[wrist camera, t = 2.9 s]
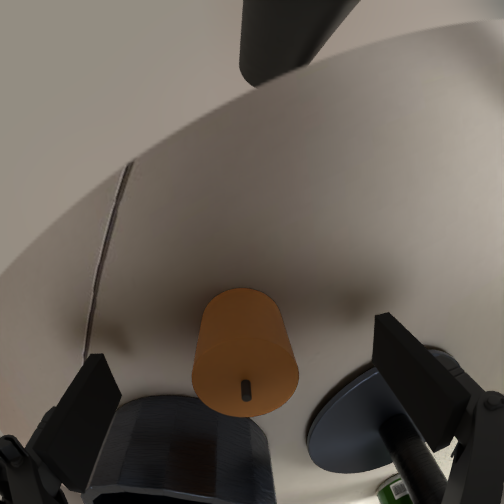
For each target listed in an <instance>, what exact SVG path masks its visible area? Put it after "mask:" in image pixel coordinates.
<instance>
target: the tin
mask: <svg viewBox="0 0 504 504" xmlns="http://www.w3.org/2000/svg"><path fill="white" fill-rule="evenodd" d="M81 498H82V500H83V502H84V504H277V500H276V493H275V486H274V479H273V472H272V465H271V458H270V452H269V446H268V441H267V438H266V437H265V435H264V433H263V432H262V430H261V429H260V428H259V427H258V426H257V425H256V424H255V423H254V422H253V421H252V420H250V419H249V418H247V417H234V416H229V415H225V414H222V413H219V412H217V411H215V410H213V409H211V408H210V407H208V406H207V405H205V404H204V403H203V402H202V401H201V400H200V399H198V398H192V397H185V396H171V395H161V396H150V397H145V398H140V399H137V400H133V401H131V402H129V403H127V404H125V405H123V406H122V407H120V408H119V409H118V410H117V411H116V412H115V414H114V416H113V419H112V421H111V423H110V426H109V428H108V431H107V434H106V436H105V439H104V441H103V444H102V446H101V449H100V452H99V454H98V457H97V460H96V462H95V465H94V468H93V471H92V473H91V476H90V479H89V482H88V485H87V488H86V491H85V493H84V494H82V493H81Z"/></svg>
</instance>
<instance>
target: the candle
mask: <svg viewBox="0 0 504 504" xmlns="http://www.w3.org/2000/svg"><path fill="white" fill-rule="evenodd" d="M298 380H299V371H298V366H297V363H296V360H295V357H294V354H293V351H292V348H291V344H290V341H289V338H288V335H287V332H286V329H285V326H284V323H283V320H282V316H281V313H280V311H279V309H278V307H277V305H276V304H275V302H274V301H273V300H272V299H271V298H270V297H268V296H267V295H265V294H264V293H262V292H260V291H257V290H254V289H248V288H235V289H231V290H227V291H225V292H223V293H220V294H219V295H217V296H216V297H215V298H213V299H212V300H211V301H210V302H209V304H208V305H207V307H206V308H205V310H204V313H203V316H202V321H201V326H200V331H199V337H198V342H197V347H196V353H195V358H194V364H193V370H192V385H193V388H194V390H195V393H196V394H197V396H198V397H199V398H200V400H201V401H202V402H203V403H204V404H205V405H207V406H208V407H210V408H211V409H213V410H215V411H217V412H219V413H222V414H225V415H229V416H234V417H254V416H259V415H263V414H266V413H269V412H271V411H273V410H275V409H277V408H279V407H280V406H282V405H283V404H284V403H286V402H287V401H288V400H289V399H290V397H291V396H292V395H293V393H294V391H295V390H296V387H297V384H298Z"/></svg>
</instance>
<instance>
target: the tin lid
mask: <svg viewBox="0 0 504 504" xmlns="http://www.w3.org/2000/svg"><path fill="white" fill-rule="evenodd" d="M428 351H429V352H430V353H431V354H432V355H433V356H434V357H436V356H439V355H441V354H442V355H445V356H447V357H449V358H451V359H452V360H453V361H455V362H456V363H457V364H458V362H457V361H456V360H455V359H454V358H453V357H452V356H450V355H449V354H448V353H445V352H443V351H438V350H428ZM458 365H459V364H458ZM459 367H460V365H459ZM425 442H426V441H425V439H424V438H423V436H422V434H421V433H420V431H419V430H418V428H417V427H416V425H415V424H414V422H413V421H412V419H411V418H410V416H409V415H408V413H407V412H406V410H405V409H404V408H403V406H402V405H401V403H400V402H399V400H398V399H397V397H396V396H395V394H394V393H393V391H392V390H391V388H390V387H389V386H388V384H387V383H386V381H385V380H384V378H383V377H382V375H381V374H380V373H379V371H378V370H377V368H376V367H374V368H372V369H370V370H368V371H367V372H365V373H364V374H362V375H360V376H359V377H357V378H356V379H355V380H353V381H352V382H351V383H349V384H348V385H346V386H345V387H344V388H343V389H342V390H341V391H339V392H338V393H337V394H336V395H335V396H334V397H333V398H332V399H331V400H330V401H329V402H328V403H327V404H326V405H325V406H324V408H323V409H322V410H321V411H320V412H319V414H318V415H317V417H316V418H315V420H314V422H313V424H312V426H311V428H310V431H309V434H308V439H307V446H308V452H309V455H310V457H311V459H312V460H313V462H314V463H315V464H316V465H317V466H319V467H320V468H322V469H324V470H327V471H330V472H334V473H345V474H348V473H359V472H365V471H370V470H373V469H377V468H380V467H383V466H385V465H388V464H390V463H392V462H393V463H394V465H395V467H396V469H397V471H398V473H399V475H400V477H401V479H402V481H403V483H404V485H405V487H406V489H407V491H408V494H409V496H410V498H411V500H412V502H413V504H441V502H442V499H443V496H444V493H445V490H446V486H447V483H448V481H447V479H446V477H445V476H444V474H443V472H442V471H441V469H440V467H439V466H438V464H437V462H436V461H435V459H434V457H433V456H432V454H431V453H430V451H429V449H428V448H427V446H426V444H425Z"/></svg>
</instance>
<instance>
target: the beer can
mask: <svg viewBox="0 0 504 504" xmlns="http://www.w3.org/2000/svg"><path fill="white" fill-rule="evenodd" d="M377 496H378V499H379V501H380V504H413V502H412V500H411V498H410V496H409V494H408V491H407V489H406V487H405V485H404V483H403V481H402V479H401V477H400V475H399V474H397V475H395V476H393V477H391V478H390V479H388V480H386V481H385V482H384V483H382V484H381V485H380V486H379V488H378V492H377Z"/></svg>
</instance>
